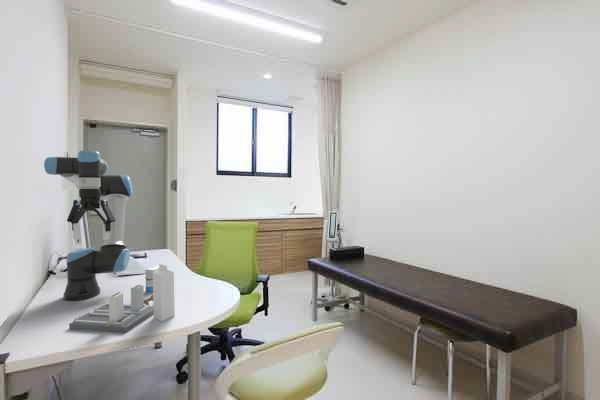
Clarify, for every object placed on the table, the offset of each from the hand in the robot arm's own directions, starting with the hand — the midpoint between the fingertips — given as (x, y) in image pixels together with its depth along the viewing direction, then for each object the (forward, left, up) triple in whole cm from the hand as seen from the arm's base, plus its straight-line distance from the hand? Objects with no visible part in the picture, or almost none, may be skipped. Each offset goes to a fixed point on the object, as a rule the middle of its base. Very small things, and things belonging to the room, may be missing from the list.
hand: (91, 239), depth 130 cm
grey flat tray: (+12, -2, -33) cm, 35 cm away
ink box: (+5, +35, -33) cm, 48 cm away
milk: (+30, +3, -33) cm, 45 cm away
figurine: (+13, +13, -33) cm, 38 cm away
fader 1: (+16, -7, -31) cm, 35 cm away
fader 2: (+18, +3, -31) cm, 36 cm away
